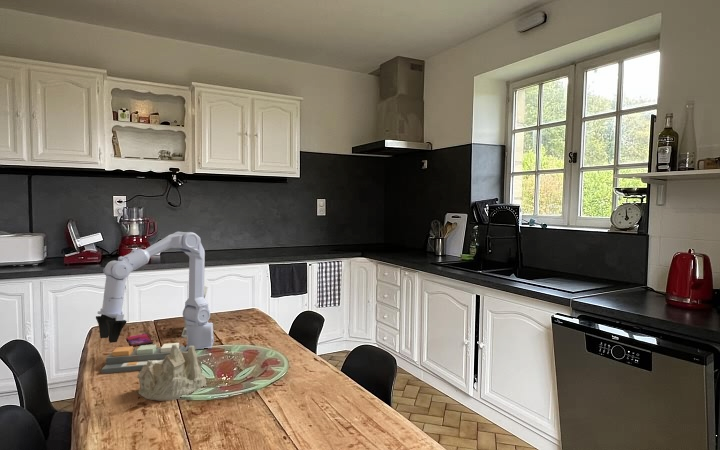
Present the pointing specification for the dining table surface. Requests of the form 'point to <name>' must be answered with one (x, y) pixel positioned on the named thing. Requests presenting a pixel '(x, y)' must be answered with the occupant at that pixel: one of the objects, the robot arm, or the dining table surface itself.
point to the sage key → (146, 349)
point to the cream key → (168, 347)
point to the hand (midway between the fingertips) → (108, 340)
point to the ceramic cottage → (171, 376)
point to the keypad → (134, 361)
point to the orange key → (122, 351)
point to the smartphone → (139, 340)
